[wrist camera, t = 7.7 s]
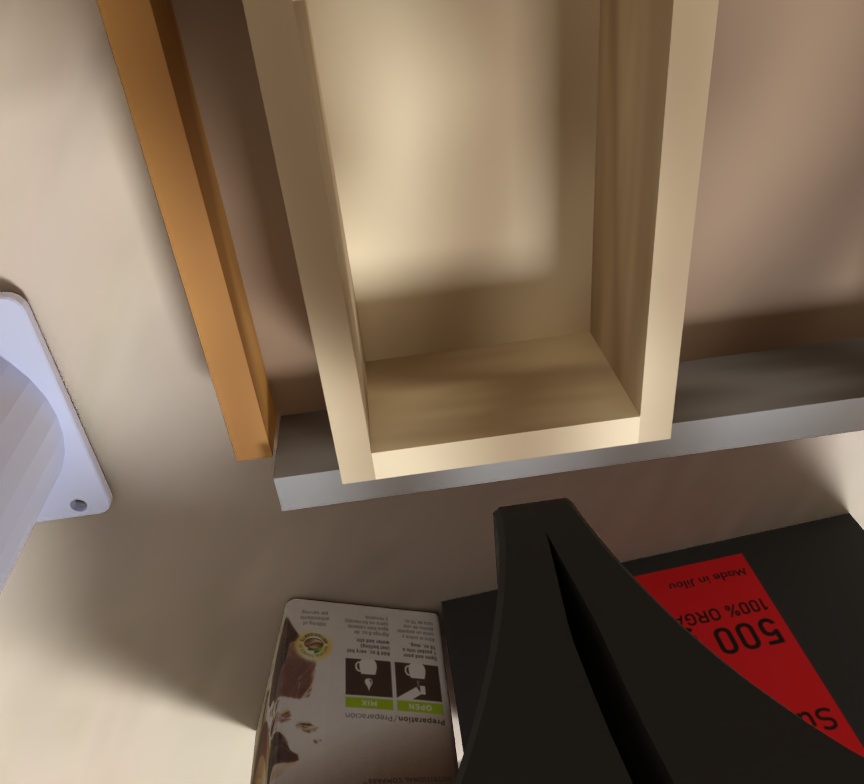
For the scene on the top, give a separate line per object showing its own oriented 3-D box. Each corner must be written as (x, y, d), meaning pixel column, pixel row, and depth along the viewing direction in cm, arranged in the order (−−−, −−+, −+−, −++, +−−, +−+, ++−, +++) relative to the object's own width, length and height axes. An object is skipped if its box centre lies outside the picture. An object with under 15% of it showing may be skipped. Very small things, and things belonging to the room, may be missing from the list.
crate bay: (253, 433, 24) (230, 570, 19) (78, -187, 15) (-49, -235, 10) (905, 344, 25) (1048, 454, 20) (1100, -293, 16) (1445, -385, 11)
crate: (342, 374, 22) (342, 484, 18) (260, -61, 16) (231, -50, 12) (607, 339, 22) (670, 438, 18) (628, -102, 16) (730, -106, 12)
